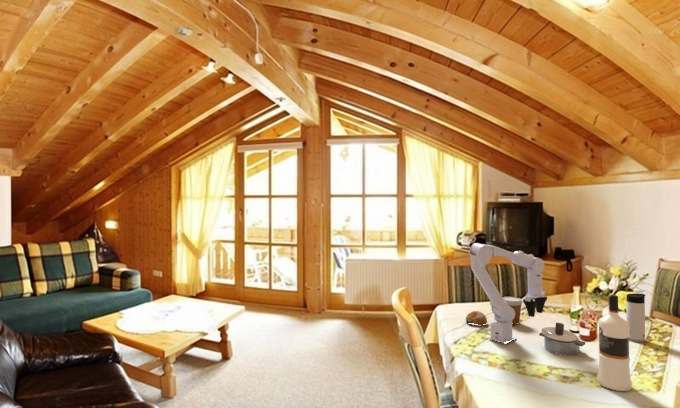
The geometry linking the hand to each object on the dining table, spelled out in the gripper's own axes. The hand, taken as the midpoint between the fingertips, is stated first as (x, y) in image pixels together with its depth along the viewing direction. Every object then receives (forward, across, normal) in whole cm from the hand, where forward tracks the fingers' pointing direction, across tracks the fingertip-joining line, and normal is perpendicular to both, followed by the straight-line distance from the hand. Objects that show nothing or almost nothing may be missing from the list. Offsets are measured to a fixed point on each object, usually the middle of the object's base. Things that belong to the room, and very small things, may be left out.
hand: (535, 314), depth 167 cm
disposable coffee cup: (+11, +11, +17) cm, 23 cm away
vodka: (+11, -24, -36) cm, 44 cm away
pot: (+10, -5, -13) cm, 17 cm away
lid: (+6, -5, -12) cm, 14 cm away
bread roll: (+11, -3, +28) cm, 30 cm away
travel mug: (+11, +29, -29) cm, 42 cm away
